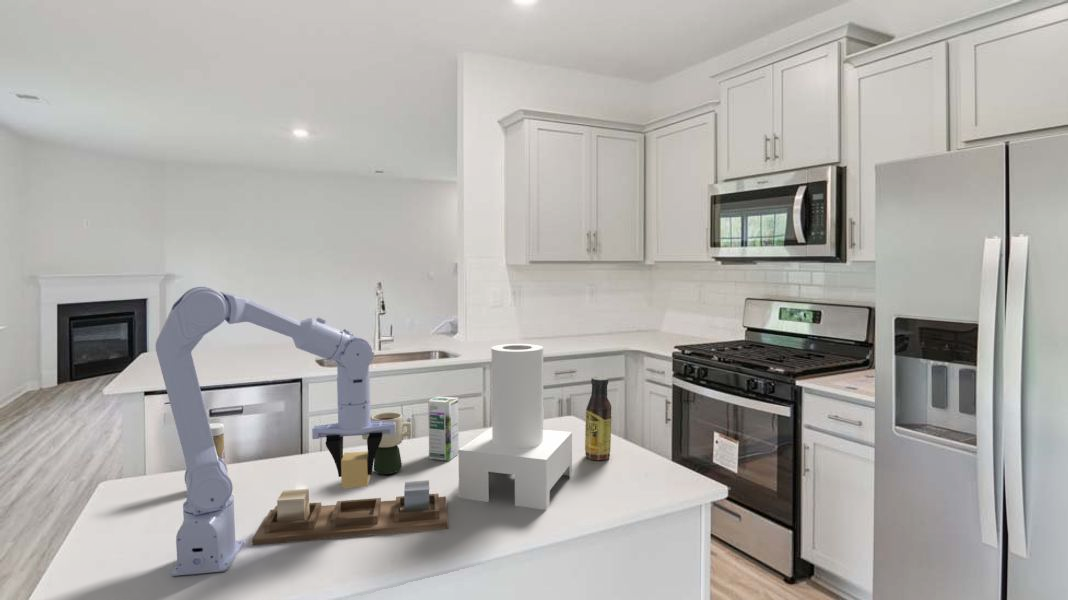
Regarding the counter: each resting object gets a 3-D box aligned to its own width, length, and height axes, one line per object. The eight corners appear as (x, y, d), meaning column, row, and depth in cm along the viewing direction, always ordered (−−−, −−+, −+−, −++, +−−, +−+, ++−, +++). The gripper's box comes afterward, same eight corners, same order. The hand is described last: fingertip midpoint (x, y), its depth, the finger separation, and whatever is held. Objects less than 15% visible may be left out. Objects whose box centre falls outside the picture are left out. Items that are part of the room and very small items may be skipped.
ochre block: (367, 486, 106) (366, 459, 106) (341, 488, 105) (341, 461, 105) (369, 477, 110) (369, 451, 110) (345, 478, 110) (344, 452, 109)
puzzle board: (448, 528, 105) (447, 496, 105) (252, 545, 99) (251, 510, 99) (445, 501, 117) (445, 472, 117) (270, 514, 111) (269, 484, 111)
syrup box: (428, 459, 142) (427, 400, 141) (438, 451, 147) (438, 395, 146) (449, 461, 140) (448, 402, 139) (459, 453, 146) (458, 396, 145)
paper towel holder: (546, 510, 113) (546, 356, 111) (459, 497, 119) (457, 352, 117) (571, 476, 131) (572, 343, 129) (494, 466, 137) (493, 339, 135)
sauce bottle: (580, 455, 144) (580, 376, 143) (601, 451, 147) (602, 373, 145) (593, 463, 138) (594, 381, 137) (616, 459, 141) (616, 378, 140)
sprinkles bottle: (227, 487, 124) (225, 426, 123) (203, 492, 122) (200, 429, 121) (225, 481, 128) (222, 421, 127) (201, 485, 126) (198, 424, 125)
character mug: (411, 464, 138) (410, 410, 137) (412, 475, 131) (411, 418, 131) (363, 468, 136) (362, 413, 135) (362, 479, 129) (360, 421, 128)
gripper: (395, 394, 112) (397, 463, 113) (316, 398, 109) (318, 468, 110) (393, 403, 105) (395, 477, 106) (309, 407, 102) (311, 483, 103)
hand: (355, 474), depth 108 cm, fingers closed on ochre block, 4 cm apart
